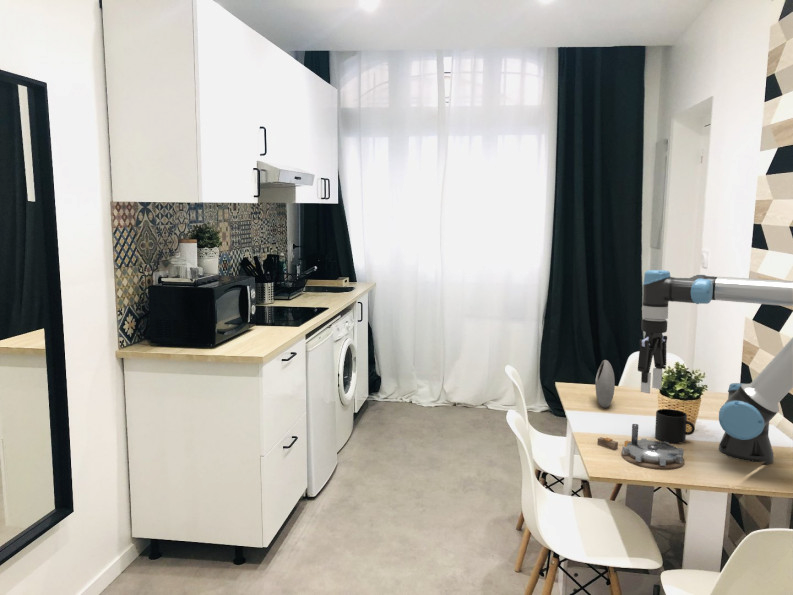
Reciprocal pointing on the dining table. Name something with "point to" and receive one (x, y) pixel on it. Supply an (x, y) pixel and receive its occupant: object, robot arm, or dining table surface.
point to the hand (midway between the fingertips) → (651, 390)
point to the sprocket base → (652, 465)
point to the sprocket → (651, 450)
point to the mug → (672, 426)
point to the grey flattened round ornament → (605, 384)
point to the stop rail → (608, 443)
